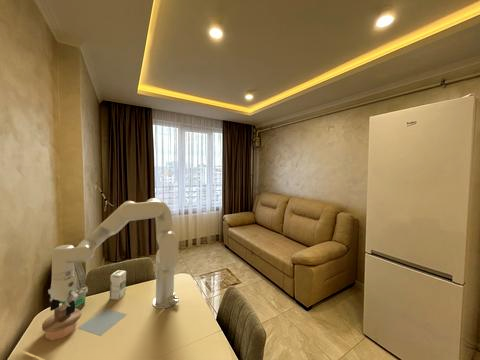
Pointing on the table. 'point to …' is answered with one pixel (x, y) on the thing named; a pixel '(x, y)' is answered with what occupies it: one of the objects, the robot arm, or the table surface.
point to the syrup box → (117, 284)
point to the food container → (80, 298)
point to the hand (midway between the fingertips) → (62, 311)
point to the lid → (60, 319)
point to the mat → (102, 321)
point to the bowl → (61, 332)
